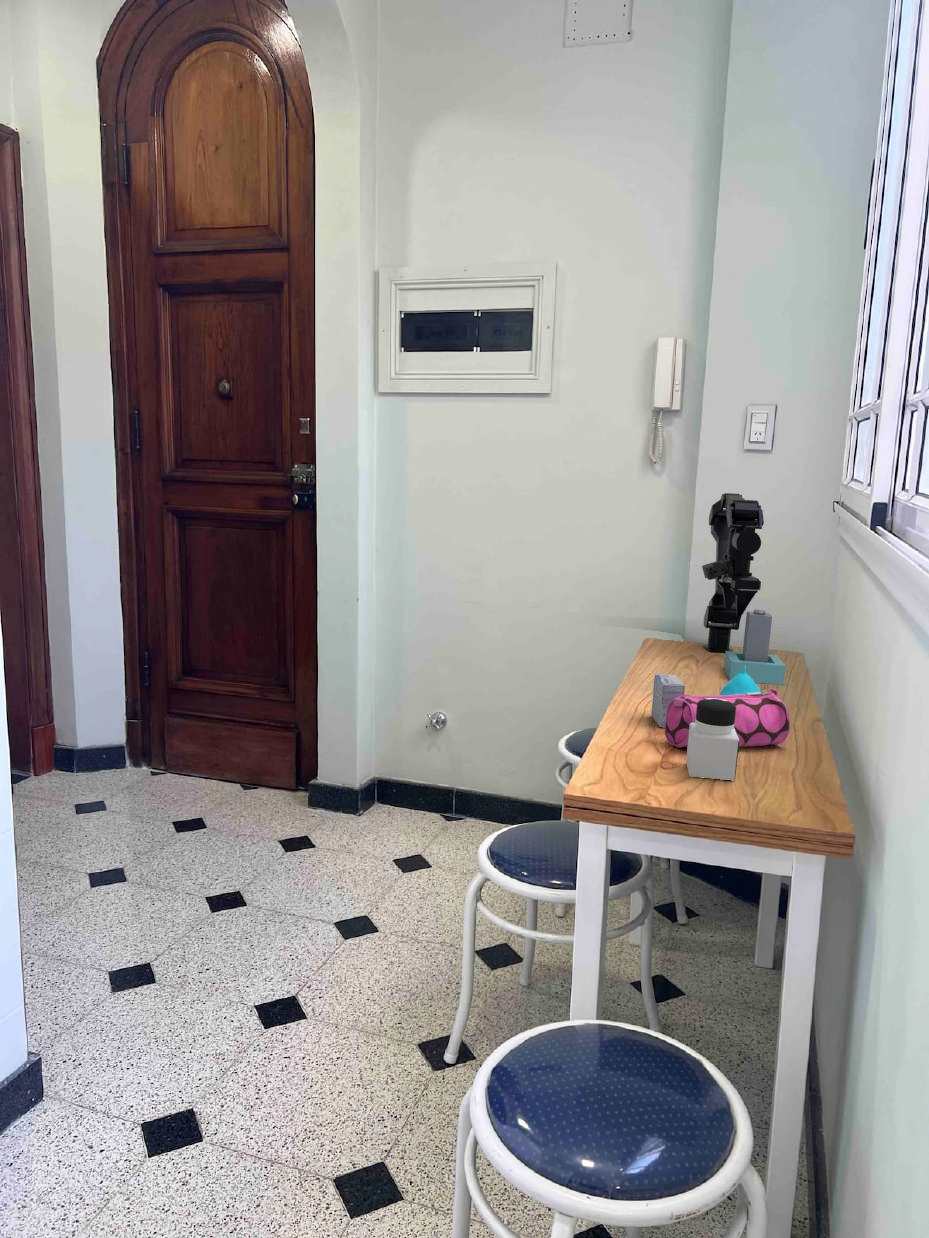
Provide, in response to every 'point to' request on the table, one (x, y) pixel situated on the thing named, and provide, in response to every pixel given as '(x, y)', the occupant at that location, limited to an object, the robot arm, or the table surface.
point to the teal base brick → (755, 668)
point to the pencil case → (754, 718)
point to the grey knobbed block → (757, 636)
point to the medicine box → (665, 695)
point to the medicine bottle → (713, 741)
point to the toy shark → (740, 685)
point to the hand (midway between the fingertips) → (733, 613)
